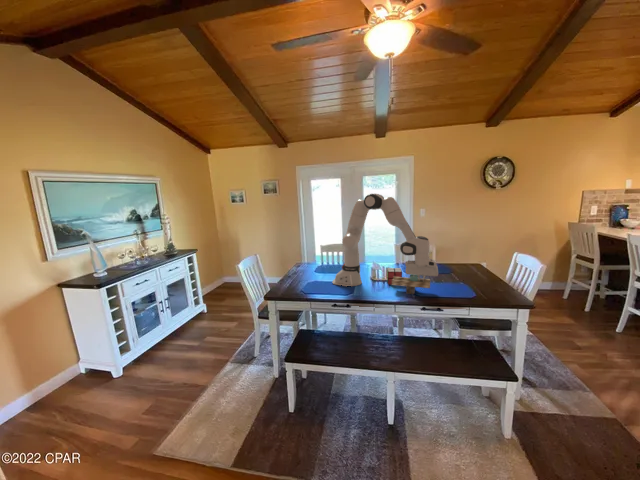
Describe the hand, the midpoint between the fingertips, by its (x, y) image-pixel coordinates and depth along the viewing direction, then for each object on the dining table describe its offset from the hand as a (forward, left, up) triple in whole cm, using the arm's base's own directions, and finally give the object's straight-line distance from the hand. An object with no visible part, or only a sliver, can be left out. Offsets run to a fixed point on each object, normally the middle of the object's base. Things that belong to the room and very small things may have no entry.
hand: (421, 281), depth 180 cm
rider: (-5, 0, -1) cm, 5 cm away
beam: (-7, 0, -8) cm, 10 cm away
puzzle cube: (-20, +16, -8) cm, 27 cm away
